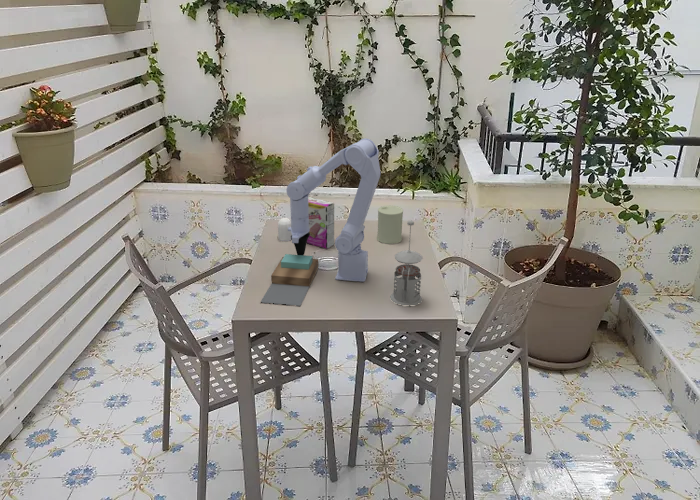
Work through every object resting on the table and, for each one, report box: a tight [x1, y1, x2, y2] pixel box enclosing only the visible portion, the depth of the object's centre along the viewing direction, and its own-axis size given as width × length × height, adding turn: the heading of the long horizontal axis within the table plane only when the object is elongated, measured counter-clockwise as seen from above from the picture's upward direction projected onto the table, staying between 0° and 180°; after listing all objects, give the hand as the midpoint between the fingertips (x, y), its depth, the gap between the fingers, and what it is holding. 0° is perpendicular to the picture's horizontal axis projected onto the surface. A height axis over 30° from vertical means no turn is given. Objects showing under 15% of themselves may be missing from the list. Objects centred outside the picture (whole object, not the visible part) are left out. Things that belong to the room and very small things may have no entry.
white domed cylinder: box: [277, 217, 292, 242], centre depth 209 cm, size 5×5×8 cm
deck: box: [270, 256, 320, 288], centre depth 182 cm, size 12×14×3 cm
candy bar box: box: [306, 196, 335, 249], centre depth 203 cm, size 11×5×16 cm, turn 58°
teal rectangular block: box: [280, 253, 314, 270], centre depth 183 cm, size 9×6×2 cm, turn 81°
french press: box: [390, 219, 424, 306], centre depth 164 cm, size 10×12×25 cm
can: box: [376, 205, 404, 245], centre depth 208 cm, size 9×9×12 cm
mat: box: [260, 282, 310, 307], centre depth 171 cm, size 12×12×1 cm
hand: (300, 254), depth 188 cm, fingers closed
